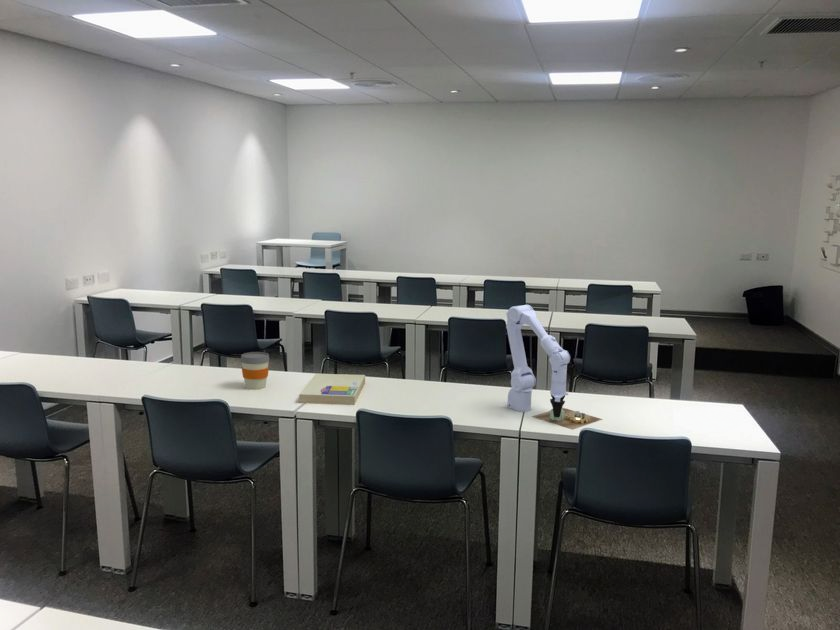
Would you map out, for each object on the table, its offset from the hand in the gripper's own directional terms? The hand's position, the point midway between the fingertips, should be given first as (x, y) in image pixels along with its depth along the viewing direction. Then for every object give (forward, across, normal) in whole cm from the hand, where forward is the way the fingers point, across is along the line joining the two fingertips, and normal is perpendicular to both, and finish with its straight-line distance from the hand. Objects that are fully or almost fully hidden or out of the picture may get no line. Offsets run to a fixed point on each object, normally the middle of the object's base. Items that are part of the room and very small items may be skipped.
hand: (556, 414), depth 269 cm
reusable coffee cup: (+3, +12, +135) cm, 136 cm away
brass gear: (+2, 0, -8) cm, 8 cm away
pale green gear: (+2, 0, 0) cm, 2 cm away
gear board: (+3, +2, -4) cm, 5 cm away
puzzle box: (+3, +13, +98) cm, 99 cm away
